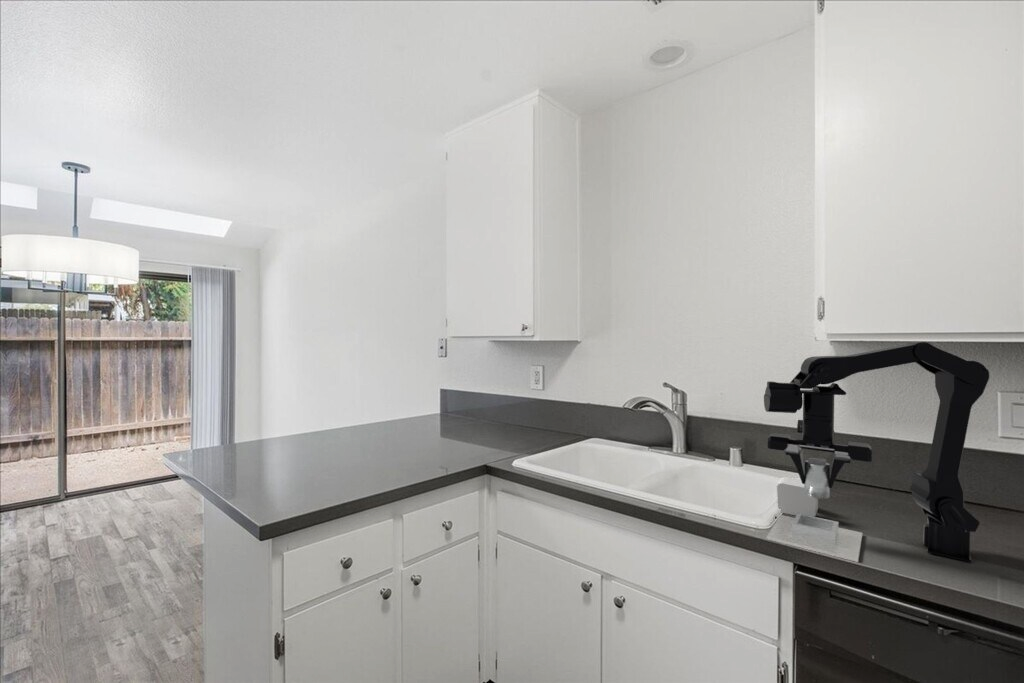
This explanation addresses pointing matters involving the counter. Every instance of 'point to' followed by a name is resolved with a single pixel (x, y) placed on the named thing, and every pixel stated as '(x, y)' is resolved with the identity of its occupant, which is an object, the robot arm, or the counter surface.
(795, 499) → the grey rounded block
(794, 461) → the robot arm
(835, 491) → the counter surface
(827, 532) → the duct socket
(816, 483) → the sleeve
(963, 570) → the counter surface
